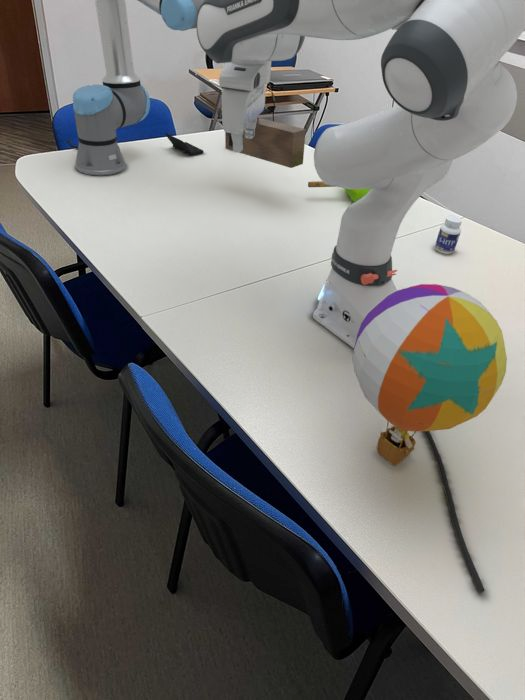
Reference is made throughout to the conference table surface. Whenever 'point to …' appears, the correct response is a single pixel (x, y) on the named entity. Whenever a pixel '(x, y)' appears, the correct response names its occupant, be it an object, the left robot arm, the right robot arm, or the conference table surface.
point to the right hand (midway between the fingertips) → (243, 144)
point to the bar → (274, 143)
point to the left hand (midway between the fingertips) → (240, 144)
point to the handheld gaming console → (184, 146)
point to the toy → (427, 362)
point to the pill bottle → (448, 235)
